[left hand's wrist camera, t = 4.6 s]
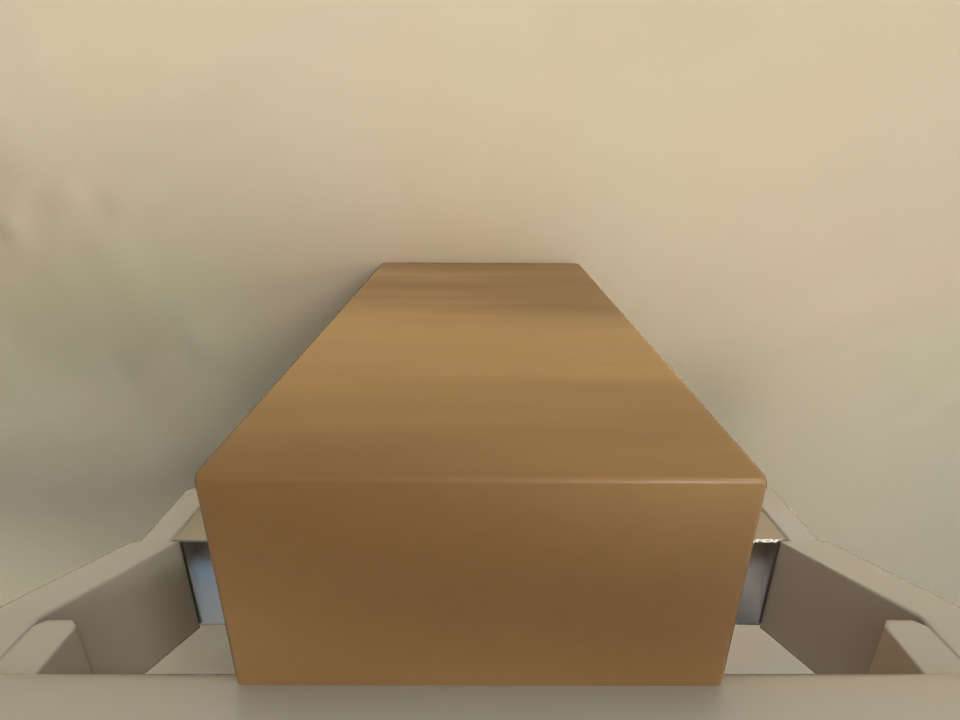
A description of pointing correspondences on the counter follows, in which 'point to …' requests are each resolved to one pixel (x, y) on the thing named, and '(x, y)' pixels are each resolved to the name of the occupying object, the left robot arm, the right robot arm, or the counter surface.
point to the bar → (480, 496)
